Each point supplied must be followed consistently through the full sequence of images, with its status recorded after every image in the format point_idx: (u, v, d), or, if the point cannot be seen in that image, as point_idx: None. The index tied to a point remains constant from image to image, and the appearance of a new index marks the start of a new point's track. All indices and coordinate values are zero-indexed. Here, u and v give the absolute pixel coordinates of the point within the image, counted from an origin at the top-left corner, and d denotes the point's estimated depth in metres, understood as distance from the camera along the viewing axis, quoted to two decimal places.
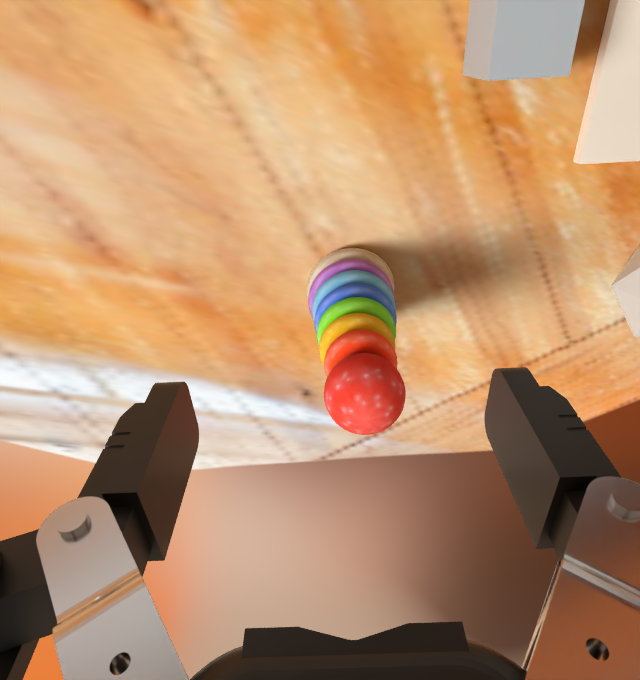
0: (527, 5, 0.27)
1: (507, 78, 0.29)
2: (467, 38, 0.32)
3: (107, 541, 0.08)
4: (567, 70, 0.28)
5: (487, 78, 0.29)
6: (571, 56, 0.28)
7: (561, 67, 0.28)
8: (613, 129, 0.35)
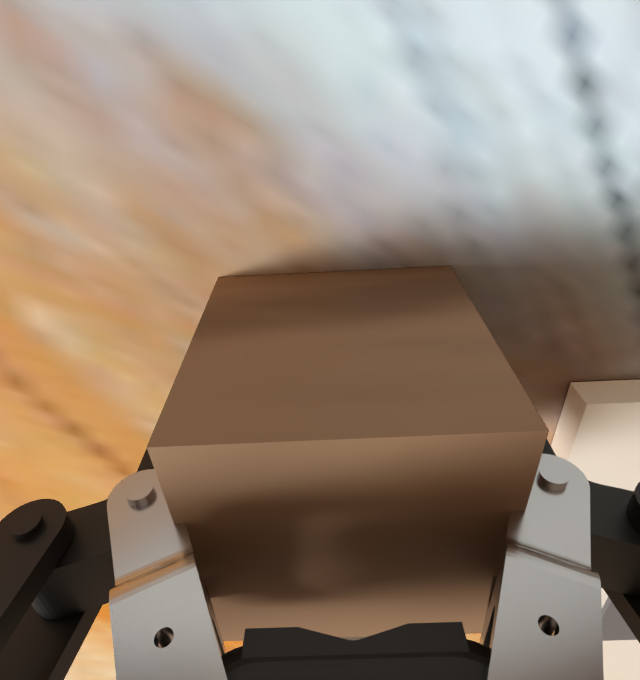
0: None
1: None
2: None
3: None
4: None
5: None
6: None
7: None
8: None
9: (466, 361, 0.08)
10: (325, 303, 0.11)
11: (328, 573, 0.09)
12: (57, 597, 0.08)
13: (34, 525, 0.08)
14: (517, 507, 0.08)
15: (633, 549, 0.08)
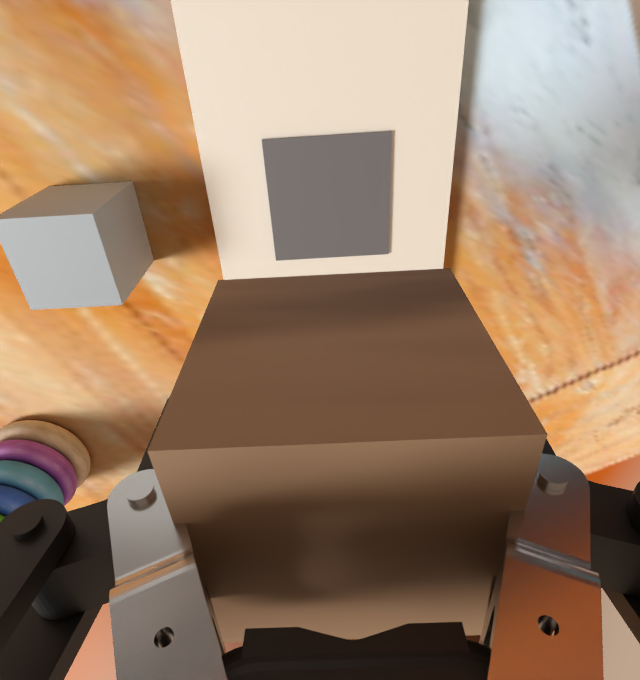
0: (35, 243, 0.23)
1: (52, 307, 0.25)
2: None
3: None
4: (117, 300, 0.25)
5: (32, 306, 0.25)
6: (114, 287, 0.24)
7: (108, 297, 0.25)
8: None
9: (465, 364, 0.08)
10: (325, 306, 0.11)
11: (328, 576, 0.09)
12: (57, 597, 0.08)
13: (34, 525, 0.08)
14: (516, 510, 0.08)
15: (633, 549, 0.08)
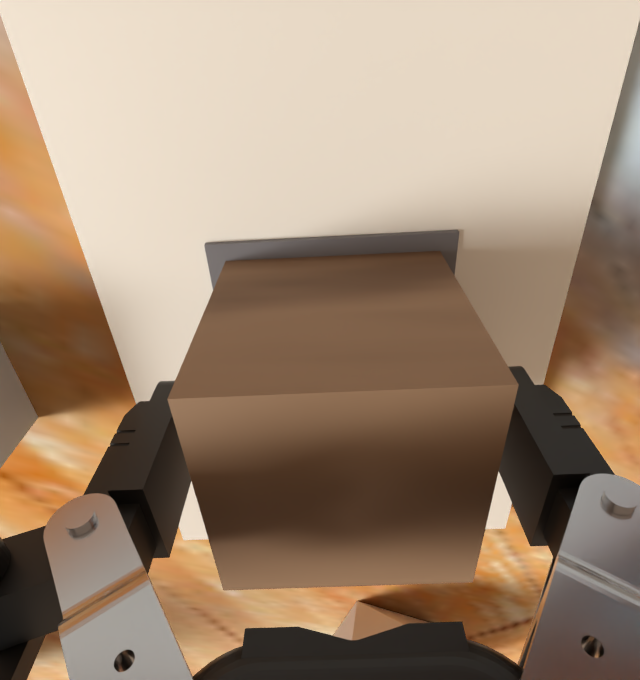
0: None
1: None
2: None
3: (114, 538, 0.08)
4: None
5: None
6: None
7: None
8: None
9: (449, 330, 0.09)
10: (324, 283, 0.12)
11: (326, 522, 0.10)
12: None
13: None
14: (494, 458, 0.09)
15: None
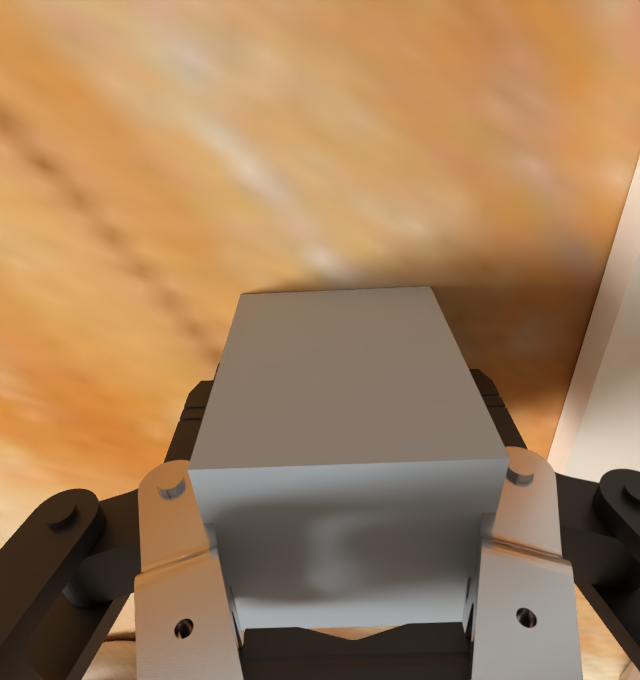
0: (303, 518, 0.08)
1: (289, 626, 0.10)
2: None
3: None
4: (461, 617, 0.10)
5: None
6: None
7: (441, 612, 0.10)
8: None
9: None
10: None
11: None
12: (86, 586, 0.08)
13: (68, 514, 0.08)
14: None
15: (597, 539, 0.08)
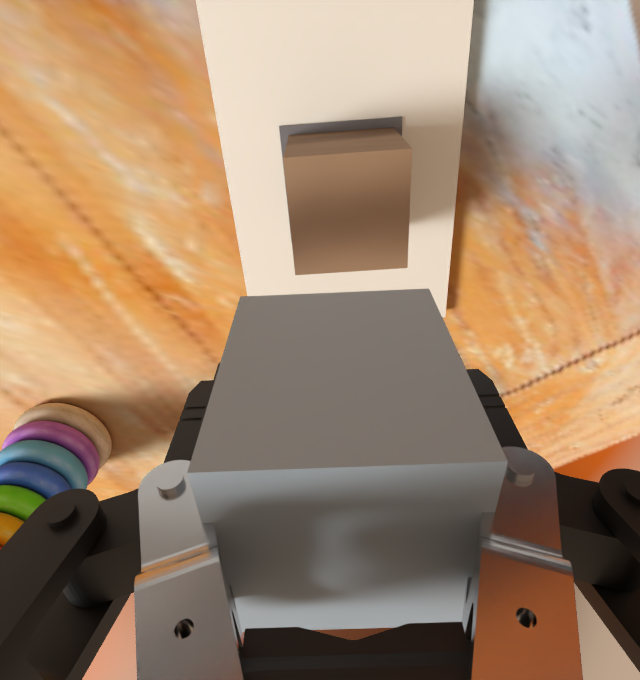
0: (302, 521, 0.08)
1: None
2: None
3: None
4: (459, 618, 0.10)
5: None
6: None
7: (440, 614, 0.10)
8: None
9: (391, 142, 0.23)
10: (338, 137, 0.25)
11: (341, 227, 0.23)
12: (86, 586, 0.08)
13: (68, 514, 0.08)
14: (407, 187, 0.22)
15: (597, 539, 0.08)
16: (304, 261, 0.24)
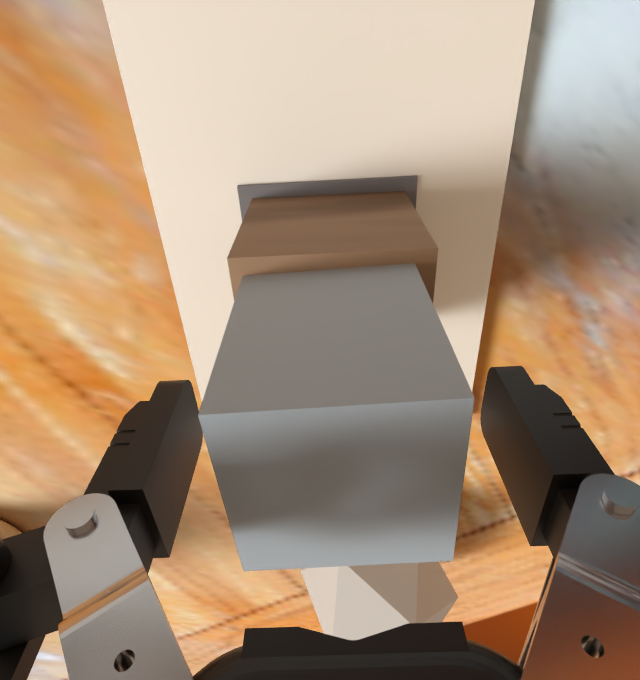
0: (299, 459, 0.09)
1: (292, 566, 0.11)
2: None
3: (114, 537, 0.08)
4: (445, 554, 0.11)
5: None
6: (451, 534, 0.10)
7: (427, 550, 0.11)
8: None
9: (402, 227, 0.15)
10: (322, 208, 0.17)
11: None
12: None
13: None
14: None
15: None
16: None
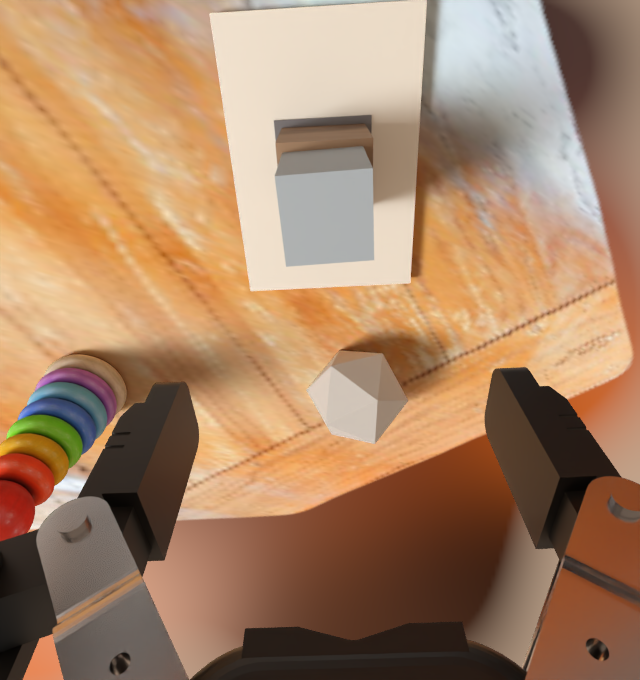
0: (310, 198, 0.24)
1: (306, 264, 0.26)
2: None
3: (107, 541, 0.08)
4: (370, 255, 0.26)
5: (286, 263, 0.26)
6: (371, 243, 0.26)
7: (362, 252, 0.26)
8: (269, 264, 0.39)
9: (359, 133, 0.30)
10: (320, 129, 0.32)
11: None
12: None
13: None
14: None
15: None
16: None
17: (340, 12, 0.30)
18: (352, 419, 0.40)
